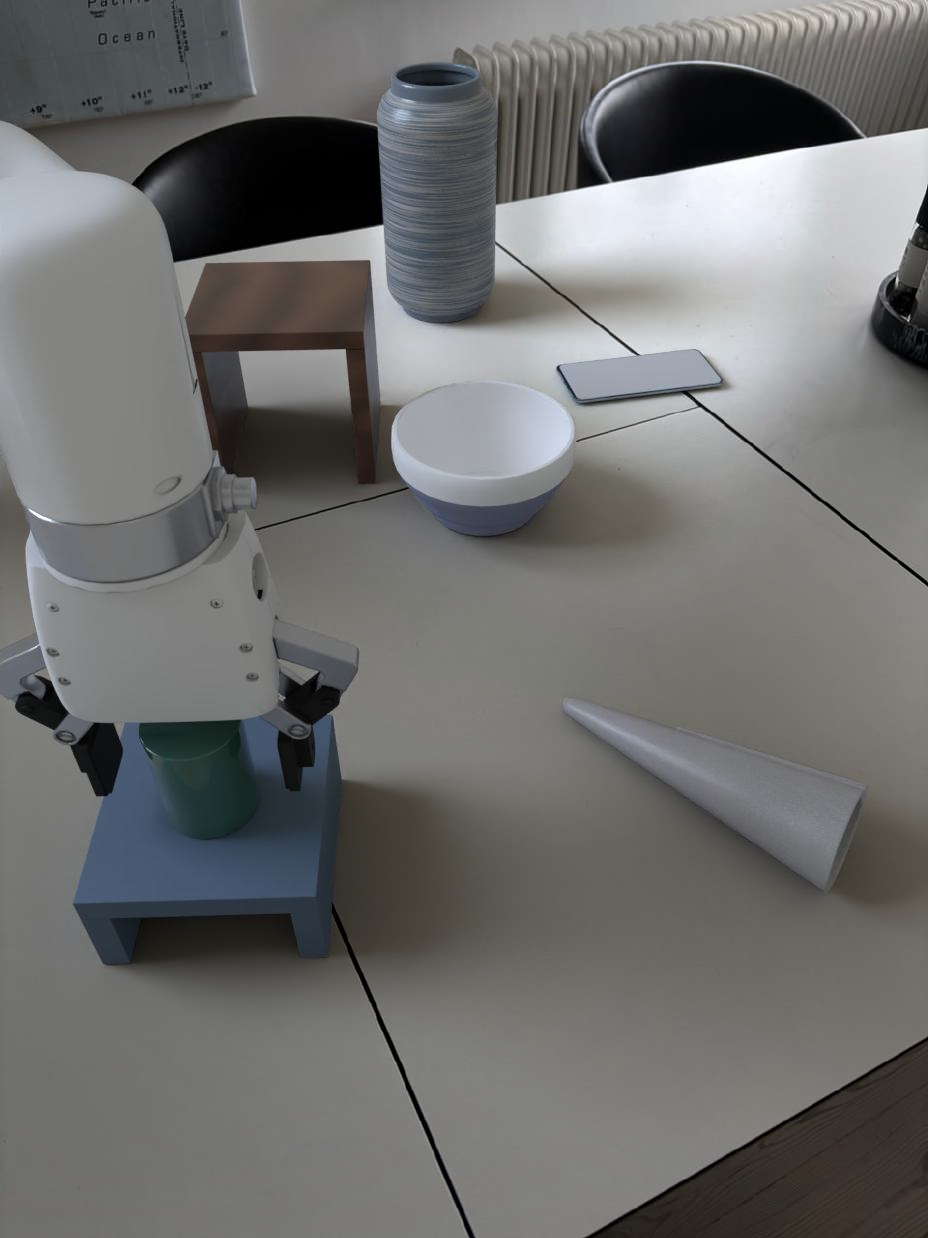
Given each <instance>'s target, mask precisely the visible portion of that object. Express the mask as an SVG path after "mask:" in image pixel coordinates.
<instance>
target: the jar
mask: <svg viewBox="0 0 928 1238" xmlns="http://www.w3.org/2000/svg"><path fill="white" fill-rule="evenodd" d="M138 733H139V739H140V741H141V744H142V747H143V750H144V753H145V756H146V759H147V762H148V764H149V767H150V770H151V773H152V776H153V779H154V782H155V785H156V787H157V790H158V793H159V796H160V799H161V802H162V805H163V808H164V810H165V813H166V816H167V819H168V821H169V823H170V824H171V826H172V827H173V828H174V829H175V830H176V831H178V832H179V833H181V834H183V835H185V836H187V837H190V838H194V839H205V840H206V839H215V838H220V837H223V836H226V835H228V834H231V833H233V832H235V831H236V830H238V829H239V828H241V827H242V826H243V825H245V824H246V823H247V822H248V821H249V820H250V819H251V817H252V816H253V815H254V813H255V811H256V809H257V807H258V804H259V800H260V788H259V784H258V780H257V775H256V771H255V767H254V762H253V758H252V754H251V750H250V745H249V741H248V737H247V733H246V728H245V724H244V720H243V719H240V720H221V721H193V722H152V723H139V730H138Z"/></svg>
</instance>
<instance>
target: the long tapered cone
mask: <svg viewBox="0 0 928 1238" xmlns="http://www.w3.org/2000/svg"><path fill="white" fill-rule="evenodd" d="M562 709H563V711H564V712H565V714H566V715H567V716H569V718H571V719H573V720H574V721H576V722H577V723H579V724H580V725H581V726H582V727H584V728H585V729H587V730H588V731H589V732H590V733H592V734H594V735H595V736H596V737H598V738H599V739H600V740H602V741H603V742H605V743H606V744H608V745H609V746H610V747H612V748H614V749H615V750H617V751H618V752H619V753H621V754H623V755H624V756H625V757H627V758H628V759H630V760H632V762H634V763H635V764H637V765H638V766H640V767H641V768H643V769H644V770H646V771H647V772H649V773H650V774H651V775H653V776H654V777H656V778H658V779H660V781H662V782H663V783H665V784H666V785H668V786H669V787H671V788H673V789H674V790H676V791H677V792H678V793H680V794H681V795H683V796H684V797H685V798H687V799H688V800H690V802H691V801H692V802H693V803H694V804H695V805H697V806H699V808H701V809H703V810H704V811H706V812H707V813H709V814H710V815H712V816H713V817H714V818H716V819H718V820H719V821H720V822H722V823H724V824H725V825H727V826H728V828H731V829H733V831H735V832H737V833H738V834H740V836H743V837H744V838H745V839H747V840H748V841H750V842H751V843H753V844H754V845H756V846H758V847H759V848H760V849H762V850H763V851H765V852H766V853H768V854H769V855H771V856H772V857H773V858H774V859H776V860H777V861H779V862H780V863H781V864H783V865H784V866H786V867H787V868H789V869H790V870H792V871H793V872H794V873H796V874H797V875H799V876H801V877H802V878H804V879H805V880H807V881H808V882H810V883H811V884H812V885H813V886H815V887H816V888H818V889H819V890H821V891H823V892H824V893H826V894H827V893H829V892H830V891H831V889H832V888H833V886H834V884H835V882H836V880H837V878H838V876H839V873H840V872H841V870H842V866H843V865H844V862H845V859H846V858H847V854H848V852H849V849H850V847H851V844H852V842H853V839H854V836H855V833H856V830H857V828H858V826H859V823H860V820H861V816H862V813H863V809H864V804H865V801H866V797H867V792H868V790H869V789H868V788H869V785H867V784H865V783H862V782H859V781H855V780H853V779H848V778H845V777H842V776H839V775H836V774H833V773H830V772H826V771H823V770H820V769H817V768H813V767H811V766H807V765H803V764H800V763H797V762H794V761H792V760H791V761H790V760H787V759H785V758H781V757H779V756H774V755H771V754H769V753H765V752H762V751H758V750H755V749H752V748H749V747H746V746H742V745H739V744H736V743H732V742H729V741H726V740H723V739H721V738H720V739H719V738H717V737H714V736H709V735H707V734H703V733H699V732H697V731H694V730H691V729H689V728H688V729H687V728H684V727H680V726H676V727H675V728H673V727H670V726H667V725H665V724H661V723H658V722H655V721H652V720H648V719H646V718H642V717H639V716H636V715H634V714H633V715H632V714H630V713H626V712H624V711H620V710H617V709H614V708H611V707H608V706H605V705H602V704H600V703H597V702H595V701H591V700H587V699H584V698H577V697H567V698H565V699H564V700H563V702H562Z"/></svg>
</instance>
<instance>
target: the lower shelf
mask: <svg viewBox="0 0 928 1238" xmlns="http://www.w3.org/2000/svg"><path fill="white" fill-rule="evenodd" d="M243 720H244V724H245V728H246V733H247V737H248V741H249V745H250V750H251V754H252V758H253V762H254V767H255V771H256V775H257V780H258V784H259V788H260V800H259V804H258V807H257V809H256V811H255V813H254V815H253V816H252V817H251V819H250V820H249V821H248V822H247V823H246V824H245V825H243V826H242V827H241V828H239V829H238V830H236V831H235V832H233V833H231V834H228V835H226V836H223V837H220V838H215V839H206V840H205V839H194V838H190V837H187V836H185V835H183V834H181V833H179V832H178V831H176V830H175V829H174V828H173V827H172V826H171V824H170V823H169V821H168V819H167V816H166V813H165V810H164V808H163V805H162V802H161V799H160V796H159V793H158V790H157V787H156V785H155V782H154V779H153V776H152V773H151V770H150V767H149V764H148V762H147V759H146V756H145V753H144V750H143V747H142V744H141V741H140V739H139V733H138V730H139V723H123V727H122V731H121V734H120V736H119V739H120V741H121V744H122V747H123V756H122V760H121V763H120V767H119V770H118V774H117V777H116V781H115V784H114V788H113V792H112V793H111V794H109V795H108V796H103V797H102V800H101V803H100V806H99V811H98V814H97V817H96V820H95V824H94V828H93V831H92V834H91V838H90V842H89V845H88V849H87V852H86V855H85V858H84V861H83V862H84V863H83V866H82V869H81V873H80V875H79V880H78V883H77V886H76V890H75V893H74V896H73V900H72V905H73V908H74V910H75V912H76V914H77V915H78V918H79V920H80V921H81V924H82V926H83V928H84V929H85V931H86V934H87V936H88V937H89V940H90V941H91V943H92V945H93V947H94V949H95V952H96V953H97V955H98V957H99V959H100V962H101V963H102V964H103V965H112V964H117V965H118V964H131V962H132V959H133V955H134V951H135V945H136V941H137V938H138V933H139V928H140V925H141V920H142V918H168V917H169V918H170V917H200V916H201V917H202V916H204V917H205V916H237V915H241V916H242V915H269V914H272V915H273V914H290V919H291V922H292V927H293V930H294V936H295V939H296V944H297V949H298V952H299V956H300V958H302V959H306V958H328V957H329V954H330V953H329V952H330V942H331V941H330V939H331V926H332V913H333V901H334V899H333V898H334V886H335V875H336V874H335V873H336V872H335V871H336V861H337V848H338V847H337V845H338V831H339V820H340V808H341V807H340V806H341V796H342V795H341V794H342V781H343V780H342V779H343V778H342V770H341V764H340V757H339V751H338V744H337V737H336V729H335V722H334V716H333V714H327V715H326V716H324V717H323V718H322V719H320V720H319V721H318V722H316V723H315V724H314V725H313V732H314V738H315V763H314V767H303V774H302V783H301V791H295V792H290V790H289V789H286V787H285V782H284V777H283V772H282V767H281V762H280V758H279V753H278V748H277V738H278V731H279V730H278V729H276V728H275V727H273V726H272V725H270V724H269V723H267V722H266V721H264V720H263V719H261V718H260V717H258V716H257V717H254V718H249V719H243Z"/></svg>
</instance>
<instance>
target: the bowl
mask: <svg viewBox="0 0 928 1238" xmlns="http://www.w3.org/2000/svg"><path fill="white" fill-rule="evenodd" d="M572 416H573V415H571V413H570V411H569V410H568V409H567V408H566V407H565V406H564V405H563V404H561V402H560V401H558V400H556V399H555V398H553V397H551V396H550V395H548V394H547V393H545V392H543V391H540V390H539V389H538V390H537V389H535V388H532V387H529V386H526V385H523V384H518V383H512V382H508V381H507V382H506V381H497V380H468V381H461V382H455V383H449V384H445V385H442V386H438V387H435V388H433V389H430V390H427V391H425V392H422V393H421V394H419V395H417V396H416V397H414V398H412V399H411V400H410V401H408V402H407V403H406V404H405V405H404V406H402V408H400V410H399V412H397V414H396V415H395V417H394V420H393V422H392V425H391V437H390V439H391V440H390V441H391V446H390V447H391V454H392V460H393V463H394V466H395V468H396V471H397V472H398V474H399V475H400V477H401V479H402V480H403V482H404V483H405V485H406V486H407V488H408V489H409V490H410V491H411V492H412V494H414V497H415V498H416V499H417V501H418V502H419V503H420V505H422V506H423V507H424V508H425V509H426V510H428V511H429V512H430V513H431V514H432V515H433V516H434V518H435V519H436V521H438V522H439V523H440V524H442V526H443V527H446V528H448V529H450V530H452V531H454V532H457V533H460V534H463V535H468V536H475V537H488V536H489V537H491V536H492V537H493V536H497V535H499V536H500V535H503V534H507V533H510V532H513V531H515V530H518V529H519V528H521V527H522V526H524V525H526V524H527V523H528V522H529V521H530V520H531V518H533V516H534V515H535V514H536V513H537V512H538V511H540V510H541V509H543V507H545V506H546V504H547V503H548V502H549V501H550V500H551V499H552V496H553V495H554V494H555V493H556V491H558V489H559V488H560V487H561V486H562V484H563V483H564V481H565V479H566V477H567V476H568V475H569V473H570V471H571V469H572V467H573V465H574V461H575V456H576V450H577V441H578V439H577V428H576V424H575V420H574V418H573V417H572Z"/></svg>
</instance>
